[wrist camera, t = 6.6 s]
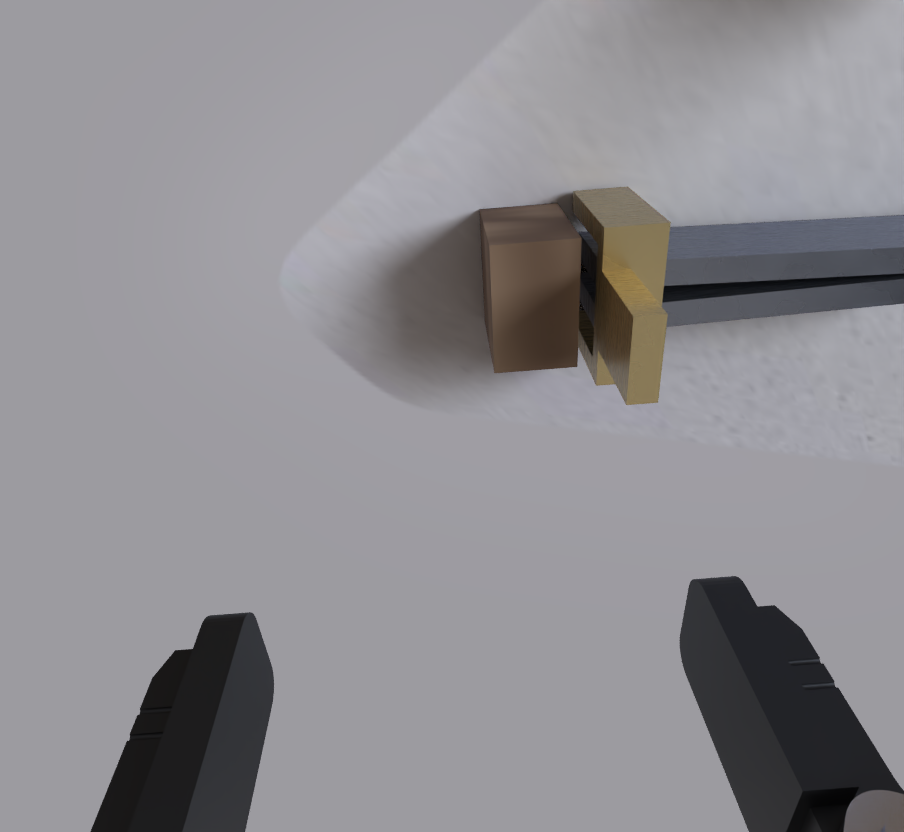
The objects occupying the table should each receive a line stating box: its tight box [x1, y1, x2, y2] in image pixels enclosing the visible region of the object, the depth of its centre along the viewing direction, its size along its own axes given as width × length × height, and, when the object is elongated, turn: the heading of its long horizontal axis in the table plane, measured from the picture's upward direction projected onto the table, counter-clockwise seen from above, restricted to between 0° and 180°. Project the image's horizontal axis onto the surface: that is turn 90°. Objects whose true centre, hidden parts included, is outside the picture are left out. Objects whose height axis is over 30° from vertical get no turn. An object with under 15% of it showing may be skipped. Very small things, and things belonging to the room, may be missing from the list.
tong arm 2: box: [579, 215, 904, 286], centre depth 25 cm, size 16×1×4 cm, turn 92°
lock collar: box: [573, 187, 671, 405], centre depth 24 cm, size 2×6×9 cm, turn 4°
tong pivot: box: [480, 203, 582, 373], centre depth 26 cm, size 3×5×5 cm, turn 4°
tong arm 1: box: [580, 272, 904, 327], centre depth 26 cm, size 16×1×4 cm, turn 95°
